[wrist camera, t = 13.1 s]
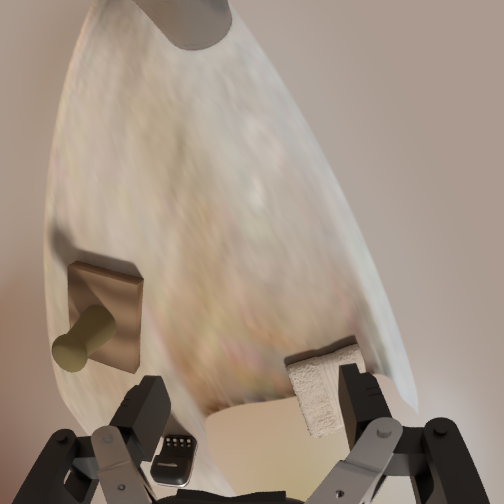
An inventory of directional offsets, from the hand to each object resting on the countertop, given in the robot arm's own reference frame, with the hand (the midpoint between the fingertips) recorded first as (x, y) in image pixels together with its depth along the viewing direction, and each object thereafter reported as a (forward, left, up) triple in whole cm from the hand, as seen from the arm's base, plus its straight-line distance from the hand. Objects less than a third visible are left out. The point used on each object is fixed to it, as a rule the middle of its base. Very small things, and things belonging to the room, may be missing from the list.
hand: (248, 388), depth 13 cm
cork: (+9, -26, -27) cm, 38 cm away
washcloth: (+27, +8, -30) cm, 41 cm away
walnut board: (+9, -26, -29) cm, 40 cm away
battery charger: (+37, -21, -29) cm, 52 cm away
